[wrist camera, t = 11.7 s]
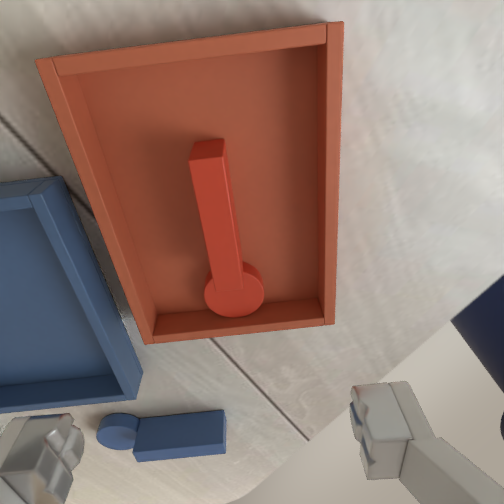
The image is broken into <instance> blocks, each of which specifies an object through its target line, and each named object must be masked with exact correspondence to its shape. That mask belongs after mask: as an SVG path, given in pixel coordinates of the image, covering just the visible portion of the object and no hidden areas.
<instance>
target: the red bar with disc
mask: <svg viewBox="0 0 504 504" xmlns="http://www.w3.org/2000/svg"><path fill="white" fill-rule="evenodd" d="M188 165H189V170H190V175H191V180H192V184H193V189H194V194H195V198H196V203H197V208H198V213H199V217H200V222H201V227H202V231H203V236H204V241H205V245H206V250H207V255H208V260H209V264H210V269H211V270H210V271H209V273H208V274H207V276H206V279H205V285H204V299H205V302H206V304H207V305H208V307H209V308H210V309H211V310H212V311H213V312H215V313H217V314H219V315H221V316H224V317H230V318H238V317H243V316H247V315H249V314H251V313H253V312H254V311H256V310H257V309H258V308H259V307H260V305H261V304H262V302H263V299H264V285H263V279H262V276H261V274H260V272H259V271H258V270H257V269H256V268H255V267H254V266H252V265H250V264H249V263H246V262H243V258H242V251H241V244H240V238H239V231H238V224H237V218H236V211H235V204H234V197H233V191H232V184H231V177H230V171H229V164H228V157H227V150H226V144H225V139H216V140H208V141H200V142H194V144H193V147H192V150H191V153H190V156H189V159H188Z"/></svg>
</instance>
